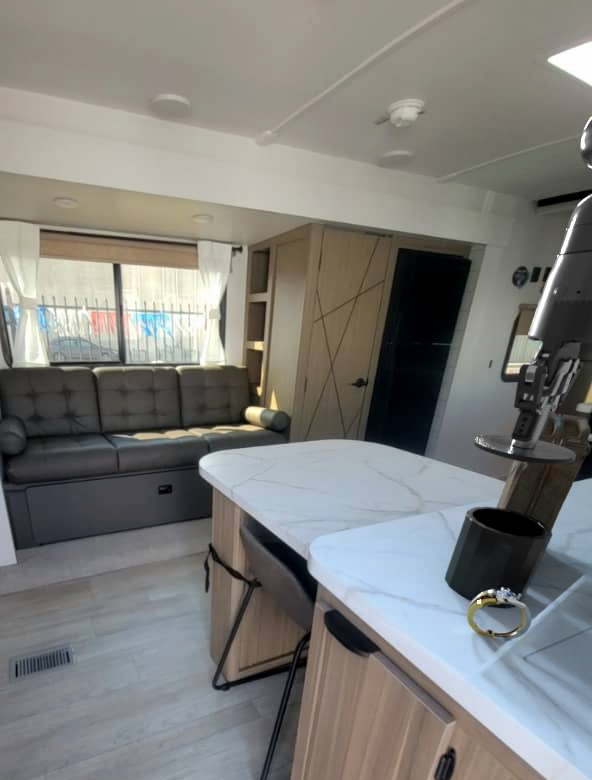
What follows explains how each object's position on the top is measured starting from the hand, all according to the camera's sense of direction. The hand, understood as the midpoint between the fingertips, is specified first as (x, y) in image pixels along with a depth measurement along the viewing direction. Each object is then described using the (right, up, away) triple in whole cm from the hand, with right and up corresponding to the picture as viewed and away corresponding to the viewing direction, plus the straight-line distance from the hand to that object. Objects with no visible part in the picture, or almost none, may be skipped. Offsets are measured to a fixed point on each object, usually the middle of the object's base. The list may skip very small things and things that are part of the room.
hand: (526, 438), depth 56 cm
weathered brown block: (+13, -18, +21) cm, 31 cm away
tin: (0, -23, +10) cm, 25 cm away
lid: (0, -2, +1) cm, 2 cm away
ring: (-6, -28, 0) cm, 28 cm away
